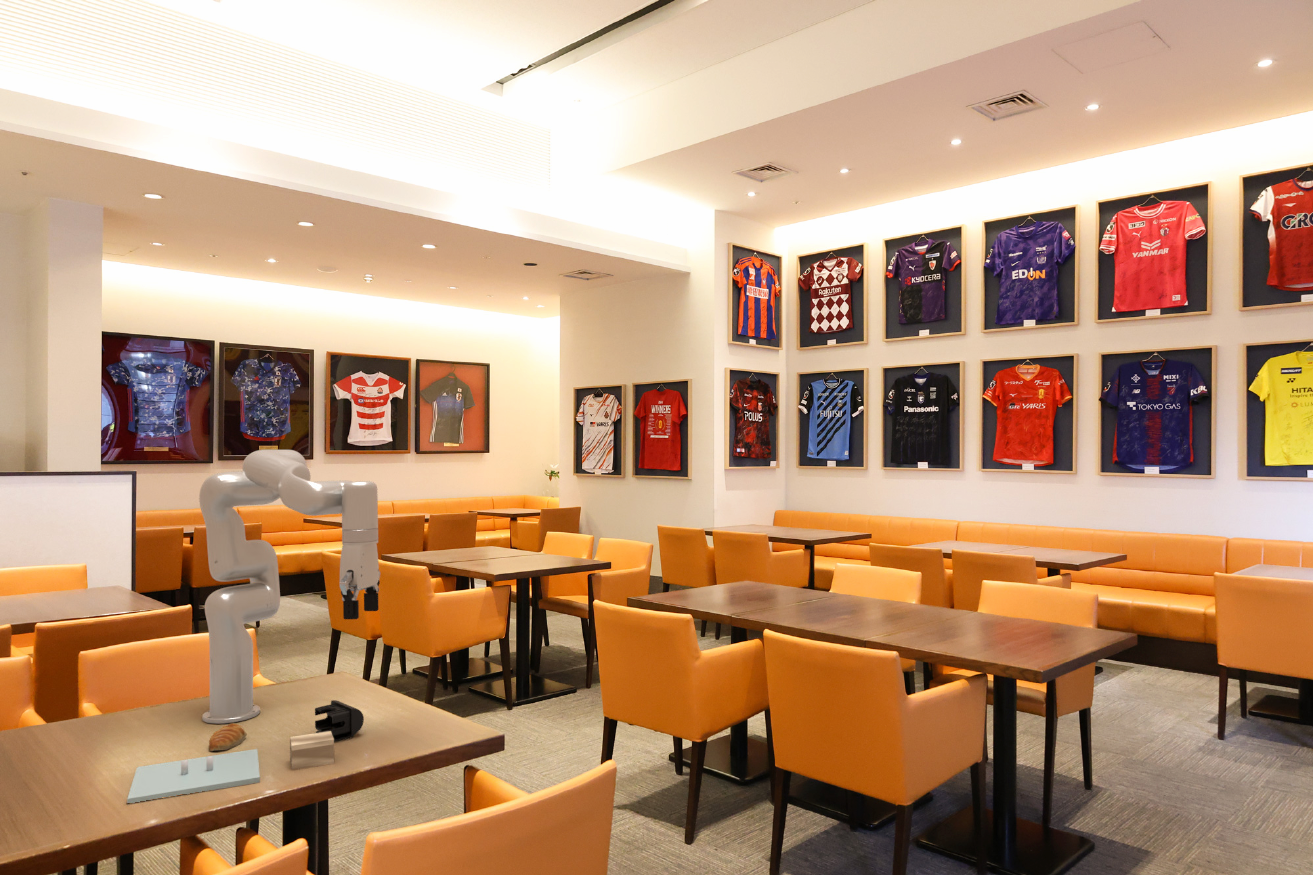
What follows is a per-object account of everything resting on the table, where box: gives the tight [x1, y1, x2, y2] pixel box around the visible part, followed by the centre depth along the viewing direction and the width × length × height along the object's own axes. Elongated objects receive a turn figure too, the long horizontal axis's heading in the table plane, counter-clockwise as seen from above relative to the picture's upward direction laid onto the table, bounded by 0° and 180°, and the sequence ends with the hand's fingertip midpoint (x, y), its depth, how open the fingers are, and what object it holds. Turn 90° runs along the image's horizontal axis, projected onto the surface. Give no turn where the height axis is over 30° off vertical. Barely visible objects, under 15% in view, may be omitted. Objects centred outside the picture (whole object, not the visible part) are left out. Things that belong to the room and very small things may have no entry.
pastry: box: [208, 723, 248, 752], centre depth 186 cm, size 9×7×4 cm
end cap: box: [314, 699, 365, 743], centre depth 193 cm, size 10×7×7 cm
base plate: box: [126, 748, 261, 804], centre depth 168 cm, size 18×22×4 cm
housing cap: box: [289, 731, 335, 771], centre depth 175 cm, size 6×8×5 cm
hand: (361, 614), depth 186 cm, fingers open, 9 cm apart
